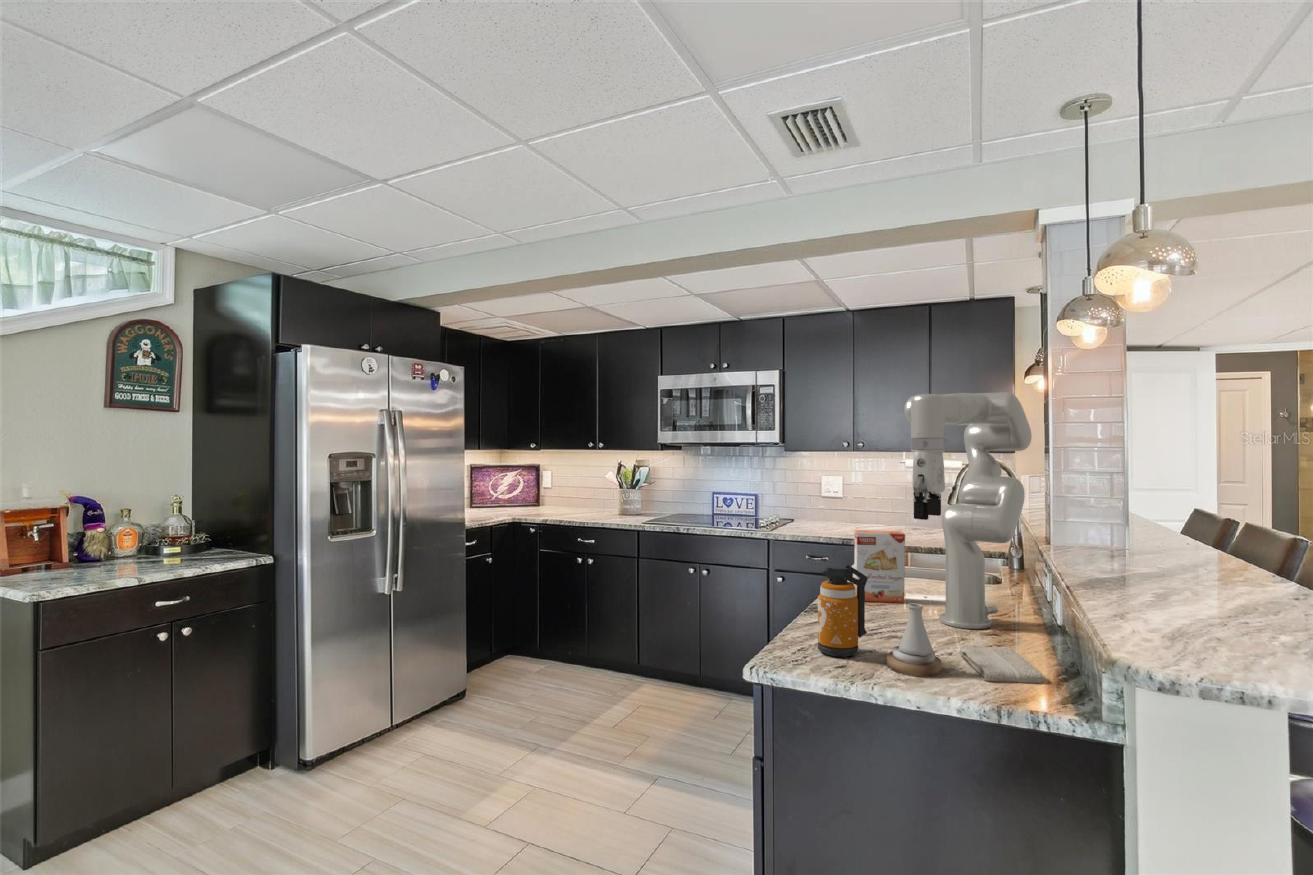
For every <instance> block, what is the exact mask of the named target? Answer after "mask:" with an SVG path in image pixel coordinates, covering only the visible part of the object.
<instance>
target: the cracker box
mask: <svg viewBox="0 0 1313 875" xmlns="http://www.w3.org/2000/svg"><path fill="white" fill-rule="evenodd" d="M905 557H906V534H905V533H904V532H903V531H901V530H877V529H874V530H873V529H872V530H870V529H855V530H854V560H853V561H854V564H853V566H854V567H853V568H854V569H856V570H857V571H859V572H860V573H862V574H864V575H865V576H866V577H868V580H867V582H866V585H865V602H873V603H874V602H876V603H877V602H878V603H879V602H880V603H897V604H898V603H900V604H904V603H905V579H906V578H905V572H906V571H905V570H906V568H905V567H906V566H905V564H906V563H905V560H906V558H905ZM853 577H854V578H856V579H858V580H859V579H860V578H859V577H858V576H856V575H855V574H853ZM854 586H855V588H856V597H857V585H855V584H854Z"/></svg>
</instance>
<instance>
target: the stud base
mask: <svg viewBox="0 0 1313 875" xmlns="http://www.w3.org/2000/svg"><path fill="white" fill-rule="evenodd" d="M898 649H899V645H897V646H894V647H893V648H892V651H889V652H888V653H886V667H887V666H888V667H887V668H888V669H889V668H891V669H892V670H893V672H894V671H895V672H894V673H897V674H900V673H902V674H901V675H904V676H909V677H916V678H917V677H918V678H919V677H920V678H928V677H929V678H930V677H935V676H938V675H940V674H941V673H942V660H941V658H939V657H938V656H936V652H935V651H934V650H933V654H929V655H926V656H920V655H911V654H907V653H904V652H901V651H898ZM891 669H890V670H891ZM892 670H891V671H892Z"/></svg>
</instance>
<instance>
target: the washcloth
mask: <svg viewBox="0 0 1313 875" xmlns="http://www.w3.org/2000/svg"><path fill="white" fill-rule="evenodd" d="M958 653H959V655H960V658H961V659H962V661H964V663H966V664H967V665H968V666H969V667H970V669H972V670H973V672H975V673H976V674H977V675H978V676H979V678H981V679H982V680H983V681H985V682H993V683H994V682H995V683H996V682H997V683H998V682H999V683H1004V682H1006V683H1007V682H1008V683H1021V684H1023V683H1025V684H1029V683H1030V684H1042V683H1044V682H1045V679H1044V676H1043V674H1042V673H1041V671H1039V670H1038V669H1037V668H1035V667H1034V666H1033V665H1032V664H1030V662H1028V661H1027V660H1025V658H1024V657H1023V656H1021V655H1019V653H1017V652H1016V651H1015V650H1014V649H1013V648H1011V647H1008V646H997V647H995V646H994V647H987V646H980V645H979V646H978V645H961V646H960V647H959V652H958Z"/></svg>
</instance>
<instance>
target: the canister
mask: <svg viewBox="0 0 1313 875" xmlns="http://www.w3.org/2000/svg"><path fill="white" fill-rule="evenodd" d="M819 571H820V573H821V574H822V575H823V576H825V577H826V578H827V579H828V580H824V581H822V582H821V585H820V588H819V589H820V590H819V593H820V594H818V595H817V649H818V650H819V651H820V652H822V653H824V654H825V655H828V656H831V657H838V658H846V657H851V656H854V655H856V654H857V653H858V652H859V638H862V637H863V636H864V635H866V634H868V632H867V631H866V628H865V626H866V625H865V620H866V619H865V617H866V616H865V615H866V614H865V610H866V608H865V607H866V606H865V603H866V601H865V585H866V582H867V580H868V577H866V576H865V575H864V574H862V573H860V572H859V571H857V570H856V569H854V567H853V566H852V565H849V564H847V565H845V566H829V565H826V566H825V567H824V568H822V569H820V570H819ZM854 574H855V575H856V576H858V577H859V578H860V579H859V580H858V579H856V578H854ZM854 584H855V585H857V597H856V588H855V586H854Z"/></svg>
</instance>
